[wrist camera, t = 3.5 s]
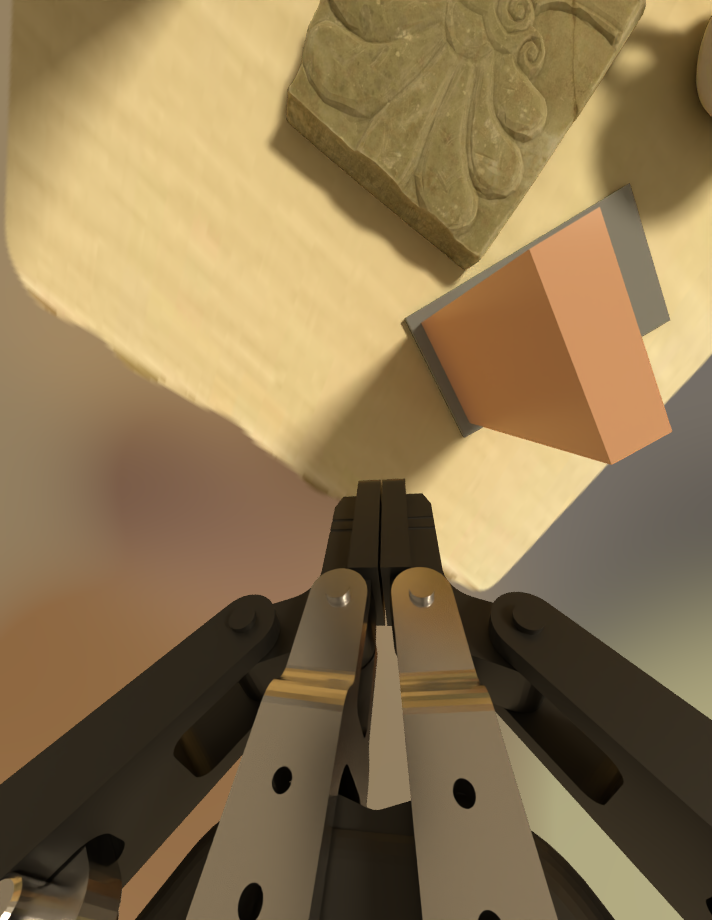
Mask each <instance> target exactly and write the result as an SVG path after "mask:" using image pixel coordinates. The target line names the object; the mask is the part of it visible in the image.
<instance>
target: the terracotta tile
mask: <svg viewBox="0 0 712 920" xmlns="http://www.w3.org/2000/svg"><path fill="white" fill-rule="evenodd" d="M421 324H422V326H423V328H424V330H425V332H426V334H427V336H428V338H429V340H430V342H431V344H432V346H433V348H434V350H435V352H436V355H437V357H438V359H439V361H440V363H441V365H442V367H443V369H444V371H445V373H446V375H447V377H448V379H449V381H450V383H451V385H452V387H453V390H454V392H455V394H456V396H457V398H458V400H459V402H460V404H461V406H462V408H463V410H464V412H465V414H466V416H467V418H468V420H469V422H470V423H472V424H475V425H478V426H482V427H485V428H489V429H492V430H495V431H499V432H502V433H505V434H509V435H512V436H516V437H519V438H522V439H526V440H529V441H533V442H536V443H539V444H543V445H546V446H550V447H553V448H556V449H560V450H563V451H567V452H570V453H573V454H577V455H580V456H584V457H587V458H590V459H594V460H597V461H601V462H604V463H607V464H611V465H612V464H614V463H616V462H618V461H620V460H621V459H623V458H625V457H626V456H629V455H630V454H632V453H634V452H636V451H637V450H640V449H641V448H643V447H645V446H647V445H649V444H650V443H652V442H654V441H656V440H658V439H660V438H661V437H663V436H665V435H667V434H668V433H670V432H672V430H671V426H670V424H669V420H668V417H667V414H666V411H665V408H664V405H663V402H662V398H661V395H660V392H659V389H658V386H657V383H656V380H655V377H654V374H653V371H652V367H651V364H650V361H649V358H648V355H647V352H646V349H645V346H644V343H643V339H642V336H641V333H640V330H639V327H638V324H637V321H636V318H635V315H634V312H633V308H632V305H631V302H630V299H629V296H628V293H627V290H626V287H625V284H624V280H623V277H622V274H621V271H620V268H619V265H618V262H617V259H616V256H615V253H614V249H613V246H612V243H611V240H610V237H609V234H608V231H607V228H606V225H605V221H604V218H603V215H602V212H601V209H600V207H599V208H597V209H595V210H594V211H592V212H590V213H589V214H587V215H585V216H584V217H582V218H580V219H579V220H577V221H575V222H574V223H572V224H570V225H569V226H567V227H565V228H564V229H562V230H560V231H559V232H557V233H555V234H554V235H552V236H550V237H549V238H547V239H545V240H544V241H542V242H540V243H539V244H537V245H535V246H534V247H532V248H530V249H529V250H527V251H526V252H524V253H523V254H521V255H520V256H518V257H517V258H515V259H514V260H513V261H511V262H510V263H508V264H507V265H505V266H504V267H502V268H501V269H499V270H498V271H496V272H495V273H493V274H492V275H490V276H489V277H488V278H486V279H485V280H483V281H482V282H480V283H479V284H477V285H476V286H474V287H473V288H471V289H470V290H468V291H467V292H466V293H464V294H463V295H461V296H460V297H458V298H457V299H455V300H454V301H452V302H451V303H449V304H448V305H446V306H445V307H443V308H442V309H441V310H439V311H438V312H436V313H435V314H433V315H432V316H430V317H429V318H427V319H426V320H424V321H423V322H421Z"/></svg>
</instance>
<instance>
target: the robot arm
mask: <svg viewBox="0 0 712 920" xmlns="http://www.w3.org/2000/svg"><path fill="white" fill-rule="evenodd" d="M385 610H386V618H387V626H392V631H393V640H394V649H395V653H396V655H397V658H398V667H399V677H400V688H401V699H402V710H403V720H404V731H405V742H406V752H407V762H408V773H409V782H410V793H411V801H408V802H405V803H402V804H399V805H395V806H392V807H388V808H385V809H381V810H372V809H369V808H367V797H368V785H369V740H370V729H371V718H372V708H373V698H374V688H375V678H376V667H377V655H378V653H377V647H376V625H377V626H379V625H382V626H383V625H384V626H385ZM495 712H496V713H497V714H498V715H499V716H500V717H501V718H502V719H503V721H504V722H505V723H506V724H507V725H508V726H509V727H510V728H511V729H512V730H513V732H514V733H515V734H516V735H517V736H518V737H519V738H520V739H521V740H522V741H523V742H524V744H525V745H526V746H527V747H528V748H529V749H530V750H531V751H532V752H533V754H535V756H536V757H537V758H538V759H539V760H540V761H541V762H542V764H543V765H544V766H545V767H546V768H547V769H548V770H549V771H550V772H551V773H552V775H553V776H554V777H555V778H556V779H557V780H558V781H559V782H560V783H561V784H562V786H563V787H564V788H565V789H566V790H567V791H568V792H569V793H570V794H571V795H572V797H573V798H574V799H575V800H576V801H577V802H578V803H579V804H580V805H581V807H582V808H583V809H584V810H585V811H586V812H587V813H588V814H589V815H590V816H591V818H592V819H593V820H594V821H595V822H596V823H597V824H598V825H599V826H600V827H601V829H602V830H603V831H604V832H605V833H606V834H607V835H608V836H609V837H610V838H611V839H612V841H613V842H615V844H616V845H617V846H618V847H619V848H620V849H621V851H623V853H624V854H625V855H626V856H627V857H628V858H629V859H630V861H631V862H632V863H633V864H634V865H635V866H636V867H637V868H638V869H639V870H640V872H641V873H642V874H643V875H644V876H645V877H646V878H647V879H648V880H649V881H650V883H651V884H652V885H653V886H654V887H655V888H656V889H657V890H658V891H659V893H660V894H661V895H662V896H663V897H664V898H665V899H666V900H667V901H668V902H669V904H670V905H671V906H672V907H673V908H674V909H675V910H676V911H677V912H678V913H679V915H680V916H681V917H682V918H683V919H684V920H712V720H711V719H709V718H708V717H706V716H705V715H704V714H702V713H701V712H700V711H698V710H697V709H695V708H694V707H693V706H691V705H690V704H688V703H687V702H686V701H684V700H683V699H681V698H680V697H679V696H677V695H676V694H674V693H673V692H672V691H670V690H669V689H667V688H666V687H665V686H663V685H662V684H660V683H659V682H657V681H656V680H655V679H654V678H652V677H651V676H649V675H648V674H646V673H645V672H644V671H642V670H641V669H639V668H638V667H637V666H635V665H634V664H633V663H631V662H629V661H628V660H627V659H626V658H624V657H623V656H621V655H620V654H619V653H617V652H616V651H614V650H613V649H612V648H610V647H609V646H607V645H606V644H604V643H603V642H601V641H600V640H599V639H598V638H596V637H595V636H593V635H592V634H591V633H589V632H588V631H586V630H585V629H584V628H582V627H581V626H579V625H578V624H576V623H575V622H574V621H572V620H571V619H570V618H568V617H567V616H565V615H564V614H563V613H561V612H560V611H558V610H557V609H556V608H554V607H553V606H551V605H550V604H549V603H547V602H546V601H544V600H543V599H541V598H539V597H536V596H534V595H531V594H528V593H523V592H511V593H506V594H504V595H501V596H500V597H498V598H497V599H496V600H495V601H494V603H492V602H488V601H485V600H482V599H478V598H474V597H471V596H469V595H466V594H464V593H462V592H460V591H459V590H457V589H456V588H455V587H453V586H452V585H451V584H450V583H449V582H448V580H447V579H446V577H445V575H444V573H443V570H442V565H441V559H440V553H439V547H438V542H437V536H436V530H435V524H434V519H433V513H432V507H431V503H430V502H429V501H428V500H427V498H426V497H425V496H424V495H423V494H422V493H421V494H406V489H405V479H388V480H382V483H381V480H367V481H359V482H358V489H357V496H353V497H343V498H342V500H341V501H340V502H339V503H338V505H337V506H336V507H335V511H334V515H333V522H332V525H331V532H330V535H329V539H328V544H327V549H326V554H325V558H324V563H323V568H322V572H321V575H320V577H319V578H318V579H317V580H316V581H315V582H314V584H313V585H312V587H311V588H310V589H309V590H308V591H306V592H305V593H303V594H301V595H299V596H297V597H294V598H291V599H288V600H284V601H281V602H278V603H275V604H272V603H271V601H270V600H269V599H267V598H266V597H264V596H261V595H248V596H244V597H241V598H239V599H237V600H235V601H233V602H232V603H231V604H229V605H228V606H227V607H225V608H224V609H223V610H222V611H220V612H219V613H218V614H216V615H215V616H214V617H213V618H211V619H210V620H209V621H207V622H206V623H205V624H204V625H203V626H201V627H200V628H199V629H197V630H196V631H195V632H194V633H192V634H191V635H190V636H188V637H187V638H186V639H185V640H183V641H182V642H181V643H180V644H178V645H177V646H176V647H174V648H173V649H172V650H171V651H169V652H168V653H167V654H166V655H164V656H163V657H162V658H161V659H159V660H158V661H157V662H155V663H154V664H153V665H152V666H150V667H149V668H148V669H147V670H145V671H144V672H143V673H141V674H140V675H139V676H138V677H136V678H135V679H134V680H133V681H131V682H130V683H129V684H127V685H126V686H125V687H124V688H122V689H121V690H120V691H119V692H117V693H116V694H115V695H114V696H112V697H111V698H110V699H108V700H107V701H106V702H105V703H103V704H102V705H101V706H100V707H98V708H97V709H96V710H94V711H93V712H92V713H91V714H89V715H88V716H87V717H86V718H84V719H83V720H82V721H80V722H79V723H78V724H77V725H75V726H74V727H73V728H72V729H70V730H69V731H68V732H67V733H65V734H64V735H63V736H62V737H60V738H59V739H58V740H57V741H55V742H54V743H53V744H51V745H50V746H49V747H47V748H46V749H45V750H44V751H42V752H41V753H40V754H39V755H37V756H36V757H35V758H34V759H32V760H31V761H30V762H28V763H27V764H26V765H25V766H24V767H22V768H21V769H20V770H18V771H17V772H16V773H14V774H13V775H12V776H11V777H9V778H8V779H7V780H6V781H4V782H3V783H2V784H0V920H118V917H119V911H118V910H119V906H120V901H121V894H122V888H123V887H124V886H125V885H126V884H127V883H128V882H129V880H130V879H131V878H132V877H133V876H134V875H135V874H136V873H137V872H138V870H139V869H140V868H141V867H142V866H143V865H144V864H145V863H146V861H147V860H148V859H149V858H150V857H151V856H152V855H153V854H154V853H155V851H156V850H157V849H158V848H159V847H160V846H161V845H162V844H163V842H164V841H165V840H166V839H167V838H168V837H169V836H170V835H171V834H172V832H173V831H174V830H175V829H176V828H177V827H178V826H179V825H180V824H181V823H182V821H183V820H184V819H185V818H186V817H187V816H188V815H189V814H190V812H191V811H192V810H193V809H194V808H195V807H196V806H197V804H199V802H200V801H201V800H202V799H203V798H204V797H205V796H206V795H207V794H208V792H209V791H210V790H211V789H212V788H213V787H214V786H215V785H216V783H217V782H218V781H219V780H220V779H221V778H222V777H223V776H224V775H225V773H226V772H227V771H228V770H229V769H230V768H231V767H232V765H233V764H234V763H235V762H236V761H237V760H238V759H239V758H240V756H242V755H243V756H242V759H241V762H240V765H239V768H238V771H237V774H236V776H235V779H234V782H233V785H232V788H231V791H230V794H229V796H228V799H227V802H226V805H225V808H224V811H223V814H222V816H221V819H220V821H219V822H218V823H217V824H216V825H214V826H213V827H212V828H211V829H210V830H209V831H208V832H207V833H206V834H205V835H204V836H203V837H202V838H201V839H200V840H199V842H197V844H196V845H195V846H194V847H193V848H192V850H191V851H190V852H189V853H188V854H187V856H186V857H185V858H184V859H183V861H182V862H181V863H180V864H179V866H178V867H177V868H176V869H175V871H174V872H173V873H172V874H171V876H170V877H169V878H168V879H167V881H166V882H165V883H164V884H163V886H162V887H161V888H160V889H159V891H158V892H157V893H156V894H155V895H154V897H153V898H152V899H151V900H150V902H149V903H148V904H147V905H146V907H145V908H144V909H143V910H142V912H141V913H140V914H139V915H138V917H137V918H136V919H135V920H615V919H614V918H613V917H612V915H611V914H610V913H609V912H608V910H607V909H606V908H605V906H604V905H603V904H602V902H601V901H600V900H599V898H598V897H597V896H596V895H595V893H594V892H593V891H592V889H591V888H590V887H589V886H588V884H587V883H586V882H585V881H584V879H583V878H582V877H581V876H580V875H579V874H578V873H577V872H576V871H575V869H573V867H572V866H571V865H570V864H569V863H568V862H567V861H566V860H565V859H564V858H563V857H562V856H561V855H560V854H559V853H558V852H557V851H556V850H555V849H553V848H552V847H551V846H550V845H549V844H548V843H547V842H546V841H544V840H543V839H542V838H540V837H539V836H538V835H536V834H535V833H534V832H533V831H531V829H530V826H529V823H528V819H527V816H526V813H525V809H524V806H523V803H522V799H521V796H520V793H519V789H518V786H517V783H516V779H515V776H514V773H513V770H512V767H511V763H510V760H509V756H508V753H507V750H506V746H505V743H504V740H503V736H502V733H501V730H500V727H499V723H498V720H497V716H496V713H495Z"/></svg>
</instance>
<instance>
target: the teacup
mask: <svg viewBox="0 0 712 920" xmlns="http://www.w3.org/2000/svg"><path fill="white" fill-rule="evenodd" d="M696 87H697V92H698V97H699V99H700V102H701V104H702V106H703V108H704V109H705V110H706V111H707V113H709V115H710V116H711V117H712V16H711V18H710V21H709V23H708V25H707V28H706V30H705V33H704V36H703V39H702V42H701V46H700V50H699V55H698V62H697V73H696Z"/></svg>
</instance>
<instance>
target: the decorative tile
mask: <svg viewBox="0 0 712 920" xmlns="http://www.w3.org/2000/svg"><path fill="white" fill-rule="evenodd" d="M645 7H646V0H320V3H319V6H318V8H317V10H316V12H315V14H314V16H313V19H312V21H311V22H310V24H309V27H308V30H307V35H306V40H305V44H304V47H303V55H302V63H301V66H300V68H299V71H298V73H297V75H296V77H295V79H294V81H293V82H292V84H291V85H290V86H289V88H288V101H287V118H286V119H287V121H288V122H289V124H291V125H292V126H293V127H294V128H295V129H296V130H297V131H299V132H300V133H301V134H302V135H303V136H304V137H306V138H307V139H308V140H309V141H310V142H311V143H312V144H314V145H315V146H316V147H317V148H318V149H319V150H321V151H322V152H323V153H324V154H325V155H326V156H328V157H329V158H330V159H331V160H332V161H333V162H335V163H336V164H337V165H338V166H339V167H340V168H342V169H343V170H344V171H345V172H346V173H347V174H349V175H350V176H351V177H352V178H353V179H355V180H356V181H357V182H358V183H359V184H360V185H362V186H363V187H364V188H365V189H366V190H368V191H369V192H370V193H371V194H372V195H374V196H375V197H376V198H377V199H379V200H380V201H381V202H382V203H384V204H385V205H386V206H387V207H388V208H390V209H391V210H392V211H393V212H394V213H396V214H397V215H398V216H399V217H400V218H402V219H403V220H404V221H405V222H406V223H408V224H409V225H410V226H411V227H412V228H414V229H415V230H416V231H417V232H418V233H420V234H421V235H422V236H423V237H425V238H426V239H427V240H428V241H430V242H431V243H432V244H433V245H435V246H436V247H437V248H438V249H440V250H441V251H442V252H443V253H444V254H446V255H447V256H448V257H449V258H450V259H452V260H453V261H454V262H455V263H457V264H458V265H459V266H460V267H461V268H463V269H465V268H470V267H471V266H473V265H474V264H475V263H477V262H478V261H479V260H480V259H481V258H482V257H483V256H484V254H485V253H486V252H487V250H488V249H489V247H490V246H491V244H492V243H493V242H494V240H495V239H496V237H497V236H498V234H499V233H500V231H501V230H502V228H503V227H504V225H505V224H506V222H507V221H508V219H509V218H510V216H511V215H512V213H513V212H514V211H515V209H516V208H517V206H518V205H519V203H520V202H521V200H522V199H523V197H524V196H525V194H526V193H527V192H528V190H529V189H530V187H531V186H532V184H533V183H534V181H535V180H536V178H537V177H538V175H539V174H540V172H541V171H542V169H543V168H544V166H545V165H546V163H547V162H548V160H549V159H550V157H551V156H552V154H553V153H554V151H555V150H556V148H557V147H558V145H559V143H560V142H561V140H562V139H563V137H564V135H565V134H566V132H567V131H568V130H569V128H570V127H571V125H572V124H573V122H574V121H575V120H576V118H577V117H578V116H579V114H580V113H581V111H582V110H583V108H584V106H585V105H586V103H587V102H588V100H589V99H590V97H591V96H592V94H593V93H594V91H595V89H596V88H597V86H598V85H599V83H600V82H601V80H602V78H603V77H604V75H605V74H606V72H607V71H608V69H609V67H610V66H611V64H612V63H613V61H614V59H615V58H616V56H617V55H618V53H619V52H620V50H621V49H622V47H623V45H624V44H625V42H626V41H627V39H628V37H629V36H630V34H631V32H632V31H633V30H634V28H635V26H636V25H637V23H638V21H639V20H640V18H641V16H642V15H643V13H644V10H645Z"/></svg>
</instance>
